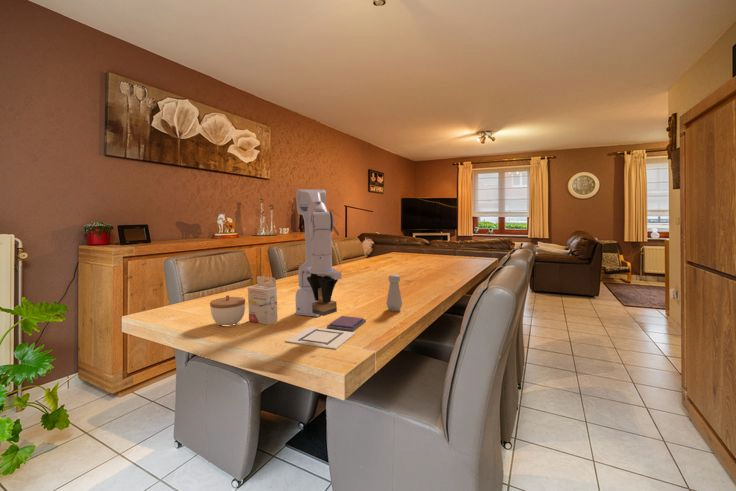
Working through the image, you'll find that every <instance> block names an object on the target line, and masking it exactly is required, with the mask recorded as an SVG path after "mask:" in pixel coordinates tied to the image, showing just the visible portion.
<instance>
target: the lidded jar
mask: <svg viewBox="0 0 736 491" xmlns="http://www.w3.org/2000/svg"><path fill="white" fill-rule="evenodd" d="M209 305H210V306H209V307H210V314H211V317H212V319H213V320H214V322H215V323H216V324H218V326H219V325H233V324H237V323H238V322H239V323H240V321H242V319H243V317H244V316H245V311H246V299H245V298H244V297H240V296H230V295H225V297H220V298H216V299H213V300H211V301H210V302H209ZM239 323H238V324H239ZM238 324H237V325H238Z"/></svg>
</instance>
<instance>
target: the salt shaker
mask: <svg viewBox="0 0 736 491" xmlns="http://www.w3.org/2000/svg"><path fill="white" fill-rule="evenodd" d="M387 280H388V282H389V286H388V292H387V299H386V307H387V309H388V311H390V312H399V311H400V310H401V308H402V306H403V300H402V294H401V290H400V285H399V283H400V281H401V276H400V275H399V274H390V275H388V279H387Z"/></svg>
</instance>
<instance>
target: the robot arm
mask: <svg viewBox="0 0 736 491" xmlns="http://www.w3.org/2000/svg"><path fill="white" fill-rule="evenodd" d="M295 196H296V197H295V200H296V211H297V214H298V215H301V216H302V219H303V221H304V241H305V242H304V245H305V249H304V250H305V261H304V262H303V263H302V264H300V265H299V267H298V274H297V275H298V276H297V277H298V278H297V280H298V287H299V288H298V289H297V290H296V292H295V312H294V315H297V316H308V317H316V318H317V317H320V316H321V315H318V314H315V313H312V303H313V302H316V301H318V288H321V290H322V299H323V303H328V302H330V301H331V300H332V295H333V292H334V289H335V287H336V284H337V283H338V281H339V280H341V279H342V271H338V270H336V269H335V268H334V267H333V257H332V256H333V253H332V252H333V250H332V249H333V248H332V247H333V246H332V245H333V244H332V243H333V242H332V232H333V231H334V215H333V212H332V211H331V210H329V211H328V209H327V192H326V190H325V189H323V188H321V189H313V188H311V189H309V188H307V189H301V188H298V189H296V194H295Z"/></svg>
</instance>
